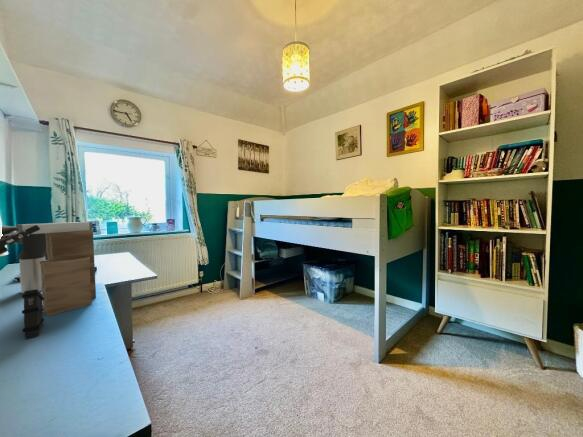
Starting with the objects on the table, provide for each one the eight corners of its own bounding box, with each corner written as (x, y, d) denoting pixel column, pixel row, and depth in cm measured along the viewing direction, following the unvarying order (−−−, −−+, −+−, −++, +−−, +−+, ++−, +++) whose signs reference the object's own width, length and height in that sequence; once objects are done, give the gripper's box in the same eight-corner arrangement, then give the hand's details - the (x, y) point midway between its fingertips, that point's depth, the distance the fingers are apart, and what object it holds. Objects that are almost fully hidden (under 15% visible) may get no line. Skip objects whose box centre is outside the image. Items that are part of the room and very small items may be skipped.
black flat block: (20, 339, 76) (22, 291, 80) (29, 341, 85) (30, 298, 89) (38, 335, 78) (38, 288, 82) (44, 337, 87) (44, 295, 92)
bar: (16, 234, 100) (16, 224, 100) (90, 229, 119) (89, 221, 119) (18, 234, 97) (17, 224, 97) (92, 230, 117) (92, 221, 117)
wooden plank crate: (35, 304, 108) (31, 232, 106) (88, 292, 122) (85, 229, 121) (46, 316, 95) (41, 235, 94) (103, 301, 110) (99, 231, 109)
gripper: (-23, 244, 86) (32, 219, 97) (-26, 241, 94) (26, 218, 105) (-6, 260, 89) (46, 234, 100) (-9, 256, 98) (39, 232, 109)
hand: (36, 226), depth 103 cm, fingers open, 8 cm apart
